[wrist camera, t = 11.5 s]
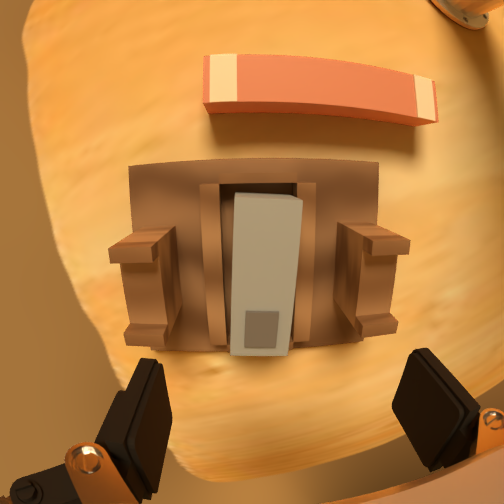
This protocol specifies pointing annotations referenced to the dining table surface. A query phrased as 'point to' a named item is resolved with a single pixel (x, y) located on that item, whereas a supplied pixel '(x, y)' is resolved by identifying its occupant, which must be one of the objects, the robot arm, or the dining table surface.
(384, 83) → the orange banded bar
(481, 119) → the dining table surface
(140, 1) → the dining table surface
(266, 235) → the grey rectangular block
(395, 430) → the dining table surface
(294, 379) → the dining table surface
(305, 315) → the jig
